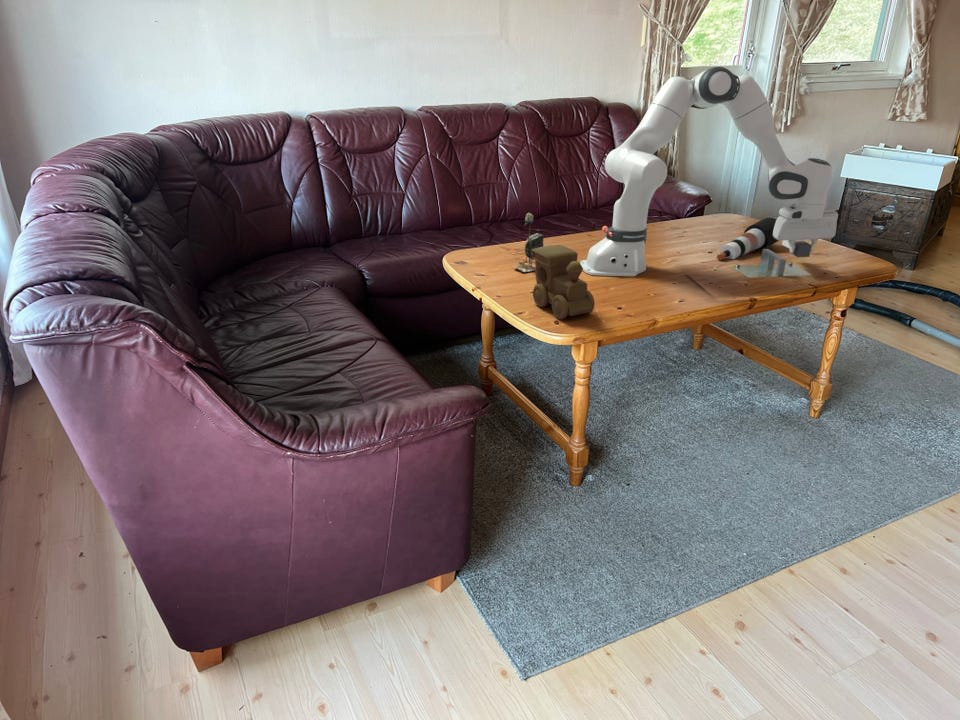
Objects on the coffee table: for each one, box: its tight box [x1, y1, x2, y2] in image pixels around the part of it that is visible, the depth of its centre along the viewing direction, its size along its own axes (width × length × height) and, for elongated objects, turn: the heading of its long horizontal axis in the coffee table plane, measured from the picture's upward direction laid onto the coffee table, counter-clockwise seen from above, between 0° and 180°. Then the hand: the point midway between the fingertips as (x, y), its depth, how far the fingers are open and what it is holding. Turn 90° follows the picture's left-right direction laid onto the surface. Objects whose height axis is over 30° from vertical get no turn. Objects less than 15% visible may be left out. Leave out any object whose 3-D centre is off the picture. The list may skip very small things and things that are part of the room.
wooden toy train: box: [532, 244, 596, 320], centre depth 194 cm, size 20×11×17 cm, turn 28°
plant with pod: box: [513, 212, 545, 273], centre depth 227 cm, size 8×11×20 cm
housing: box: [732, 248, 812, 279], centre depth 225 cm, size 22×12×7 cm, turn 96°
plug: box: [781, 240, 812, 258], centre depth 227 cm, size 12×4×4 cm, turn 6°
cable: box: [716, 217, 780, 261], centre depth 244 cm, size 10×34×10 cm, turn 130°
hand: (800, 251), depth 225 cm, fingers closed on plug, 4 cm apart
